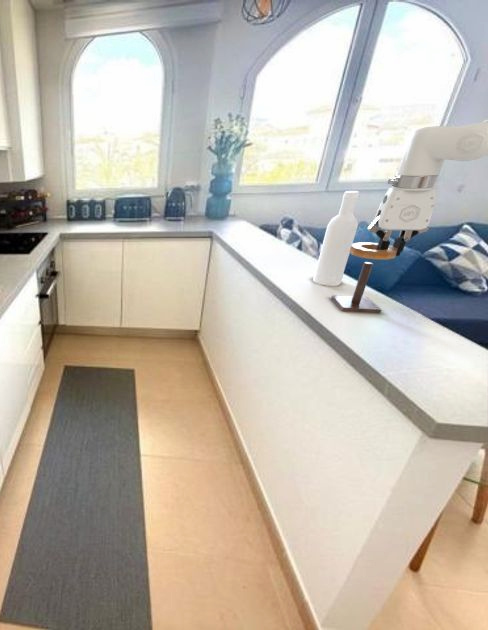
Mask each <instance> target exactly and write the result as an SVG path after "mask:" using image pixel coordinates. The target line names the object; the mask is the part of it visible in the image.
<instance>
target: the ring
mask: <svg viewBox="0 0 488 630" xmlns="http://www.w3.org/2000/svg"><path fill="white" fill-rule="evenodd" d="M378 244H379V242H362V241H361V242H355V243H354V242H353V244H352V246H351V248H350V252H349V254H351V255H352V256H355V257H357V258H358V257H359V258H363V259H371V260H384V261H385V260H391V259H392V260H393V259H395V258H396V257H397V256H396V253H397V251H398V248H396V247H394V246H393V245H389V247H388V249H387V250H377V247H378Z"/></svg>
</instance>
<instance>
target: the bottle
mask: <svg viewBox="0 0 488 630" xmlns="http://www.w3.org/2000/svg"><path fill="white" fill-rule="evenodd" d="M359 197H360V191H358V190H346V191H345V192H343V195H342V200H341V205H340V207H339V211H338V214H337V215H335V216H334V217H332V218H331V219H330V221H329V222H328V224H327V225H326V230H325V233H324V237H323V241H322V243H321V249H320V252H319V256H318V260H317V264H316V268H315V270H314V271H315V272H314V273H313V278H312V281H313V282H314V283H315V284H318V285H322V286H328V287H335V286H336V287H337V286H339V285H341V283H342V280H343V277H344V273H345V270H346V266H347V263H348V259H349V256H350V253H349V252H350V248H351V246H352V245H353V244H354V240H355V237H356V233H357V230H358V223H359V222H358V219H357V217H355V215H354V212H355V209H356V206H357V202H358V198H359Z"/></svg>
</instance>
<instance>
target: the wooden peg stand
mask: <svg viewBox="0 0 488 630" xmlns="http://www.w3.org/2000/svg"><path fill="white" fill-rule="evenodd" d="M373 266H374V263H373V262H370V261H365V262H363V265H362V268H361V271H360V274H359V277H358V280H357V283H356V286H355V289H354V292H353V295H331V298H330V300H331V301H332V302H333V303H334V304H335V305H336V307H338V308H339V310H341V312H347V313H363V314H364V313H365V314H378V315H379V314H381V312H382V309H381V308H380V307H379V306H378V305H377V304H376V303H374V301H372V300H371V299H370V298H369V297H367V296H363V295H364V292H365V290H366V287H367V284H368V281H369V278H370V274H371V271H372V269H373Z"/></svg>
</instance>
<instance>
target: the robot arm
mask: <svg viewBox="0 0 488 630" xmlns="http://www.w3.org/2000/svg"><path fill="white" fill-rule="evenodd" d="M486 156H488V118H487V119H485V120H482V121H481V122H476V123H471V124H464V125H457V126H451V125H437V126H436V125H434V126H424V127H423V126H422V127H419V128H415V129H414V130H412V131H411V133H410V135H409V137H408V140H407V143H406V146H405V149H404V152H403V154H402V157H401V160H400V163H399V166H398V168H397V169H398V170H397V172H396V175H394V177H393V178H389V179H388V180H387V185H391V186H392V187H389V188H388V189H387V191H386V192H385V195H384V196H383V197H382V200H381V202H380V203H379V206H378V209H377V210H376V213H375V216H374V218H373V221H372V222H371V224H369V226H368V227H367V228H366V229H367V231H369V232H371V233H373V234H375V235H376V236H377V237H378V239H379V241H378V243H379V244H378V247H377V250H387V249H388V247H389V245H390V244H391V241H390V238H391V235H392V233H393V231H399V235H398V238H395V239H394V242H393V244H392V246H394V247H396V248H398V251H397V253H396V256H395V257H400V255H401V253H402V252H403V251H404V249H405V247H406V243H407V242H409V241H410V240H411V239H412V238H414V237H415V236H417V235H419V234H422V233H426V232H428V231H429V224H430V222H431V219H432V216H433V213H434V210H435V205H436V201H437V197H438V188H435V184H436V182H437V179H438V177H439V174H440V171H441V169H442V166H443V163H444V161H447V160H448V161H458V162H471V161H477V160H479V159H481V158H485V157H486ZM378 227H379V228H378ZM390 246H391V245H390Z"/></svg>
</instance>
